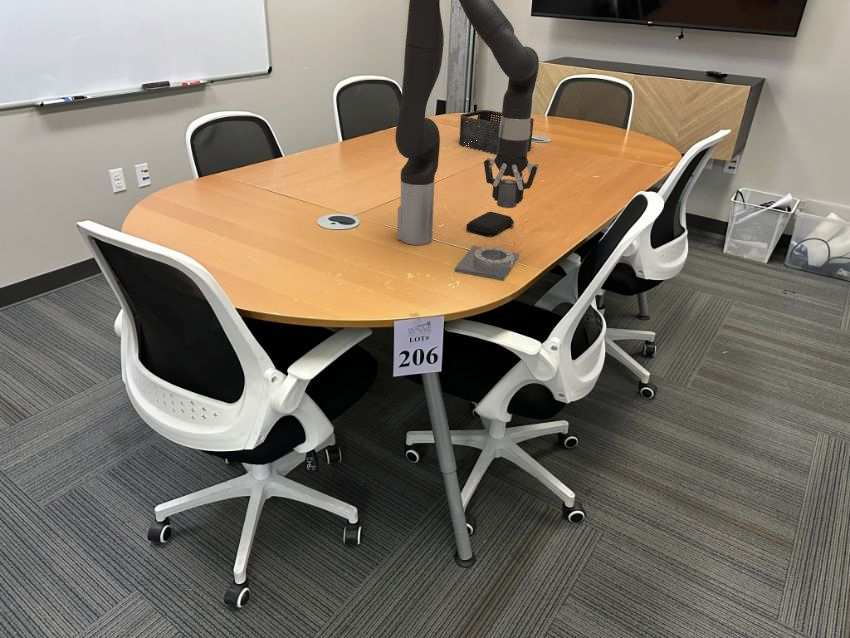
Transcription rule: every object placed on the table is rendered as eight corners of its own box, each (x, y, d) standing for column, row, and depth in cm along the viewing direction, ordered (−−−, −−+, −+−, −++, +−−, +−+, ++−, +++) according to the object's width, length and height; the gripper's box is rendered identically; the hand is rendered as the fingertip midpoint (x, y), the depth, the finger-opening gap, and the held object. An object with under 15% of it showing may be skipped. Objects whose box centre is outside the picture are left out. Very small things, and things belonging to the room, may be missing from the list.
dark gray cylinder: (494, 206, 159) (496, 183, 155) (499, 200, 163) (501, 177, 160) (514, 209, 157) (517, 185, 154) (518, 203, 161) (521, 180, 158)
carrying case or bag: (494, 240, 177) (518, 226, 188) (495, 230, 175) (519, 216, 186) (463, 231, 182) (488, 218, 193) (463, 222, 181) (488, 209, 191)
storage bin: (455, 145, 272) (457, 114, 265) (482, 138, 284) (484, 108, 278) (507, 158, 255) (510, 125, 248) (533, 150, 268) (537, 119, 261)
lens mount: (454, 271, 157) (455, 260, 155) (472, 249, 170) (473, 239, 168) (503, 280, 153) (504, 269, 152) (518, 257, 166) (519, 246, 165)
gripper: (482, 135, 150) (476, 201, 158) (540, 141, 146) (531, 209, 155) (489, 129, 156) (484, 193, 165) (545, 135, 152) (536, 200, 161)
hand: (507, 201), depth 159 cm, fingers closed on dark gray cylinder, 5 cm apart
